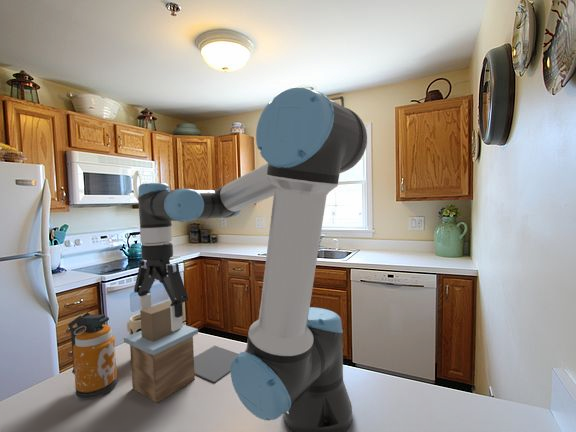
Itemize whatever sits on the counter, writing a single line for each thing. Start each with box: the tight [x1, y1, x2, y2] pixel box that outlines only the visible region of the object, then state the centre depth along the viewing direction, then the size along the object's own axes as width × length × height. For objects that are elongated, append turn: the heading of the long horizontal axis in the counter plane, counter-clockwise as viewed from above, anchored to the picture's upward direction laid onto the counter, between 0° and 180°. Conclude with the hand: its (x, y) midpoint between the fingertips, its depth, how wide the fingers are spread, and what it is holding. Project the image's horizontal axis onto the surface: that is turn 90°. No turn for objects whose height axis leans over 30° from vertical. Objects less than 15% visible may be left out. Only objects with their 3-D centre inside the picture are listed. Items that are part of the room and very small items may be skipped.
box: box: [129, 336, 196, 404], centre depth 78 cm, size 11×11×12 cm
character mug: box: [126, 313, 141, 336], centre depth 92 cm, size 11×7×13 cm, turn 77°
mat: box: [194, 345, 239, 384], centre depth 87 cm, size 15×14×1 cm
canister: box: [67, 312, 118, 400], centre depth 76 cm, size 9×11×20 cm
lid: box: [123, 300, 199, 355], centre depth 77 cm, size 13×13×9 cm
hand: (161, 323), depth 77 cm, fingers open, 13 cm apart
